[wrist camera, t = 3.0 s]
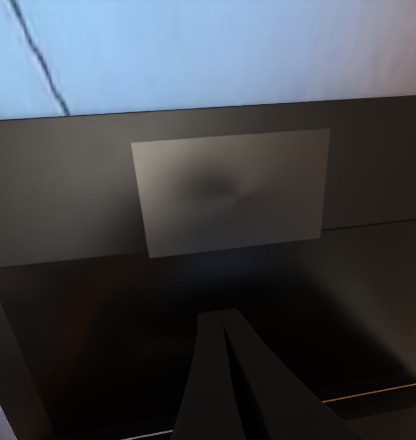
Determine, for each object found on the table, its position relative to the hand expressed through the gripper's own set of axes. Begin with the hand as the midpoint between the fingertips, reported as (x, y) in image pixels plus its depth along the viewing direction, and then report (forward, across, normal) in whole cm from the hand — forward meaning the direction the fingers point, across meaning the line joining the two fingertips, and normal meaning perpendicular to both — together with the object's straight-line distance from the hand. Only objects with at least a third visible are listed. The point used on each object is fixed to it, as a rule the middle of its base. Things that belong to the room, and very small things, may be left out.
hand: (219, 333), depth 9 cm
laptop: (+7, -2, +3) cm, 8 cm away
